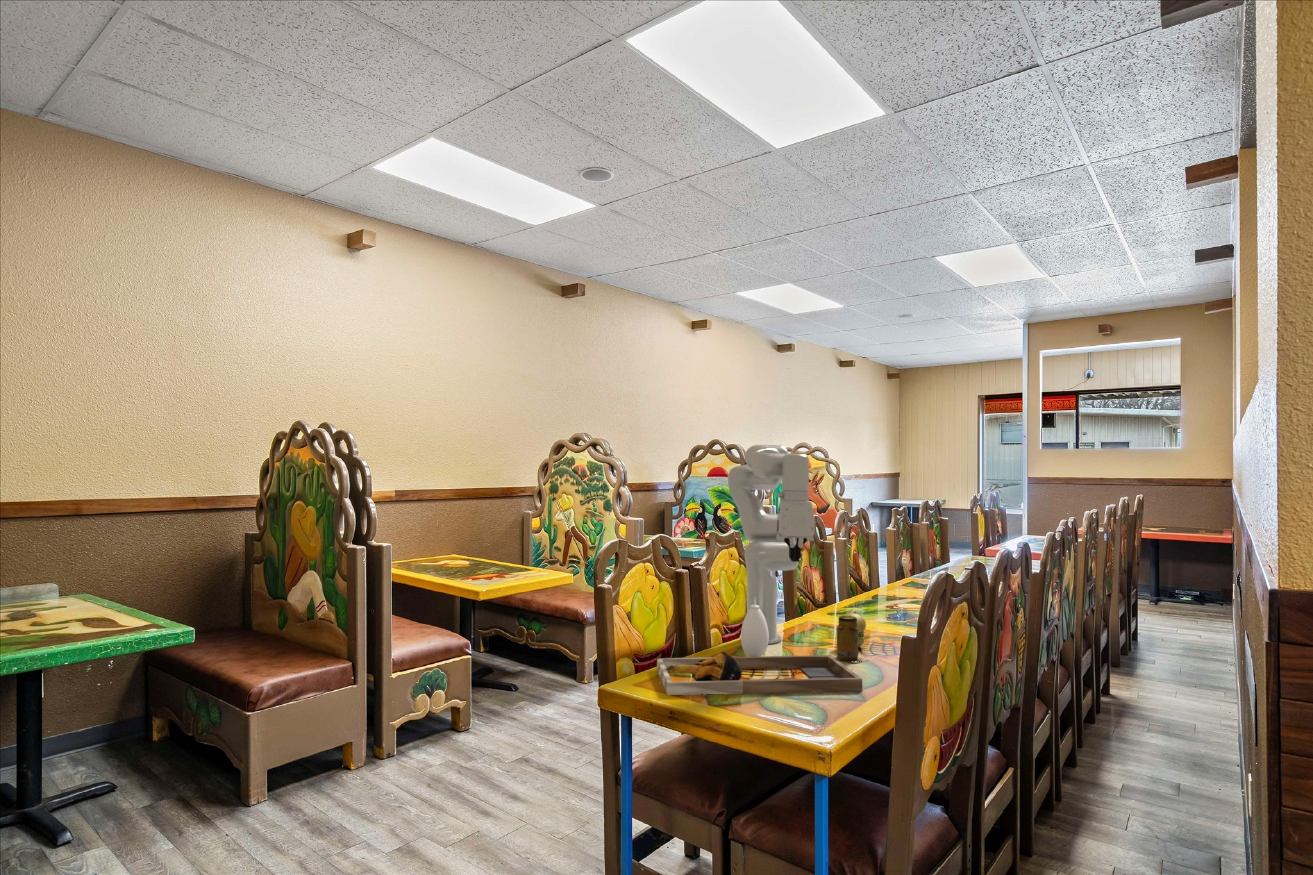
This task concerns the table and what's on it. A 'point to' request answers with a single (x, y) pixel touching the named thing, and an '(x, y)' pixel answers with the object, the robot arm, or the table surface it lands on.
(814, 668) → the tray box
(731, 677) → the leather work glove
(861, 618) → the pale rounded lump
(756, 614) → the white bulb syringe
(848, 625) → the condiment
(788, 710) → the table surface
